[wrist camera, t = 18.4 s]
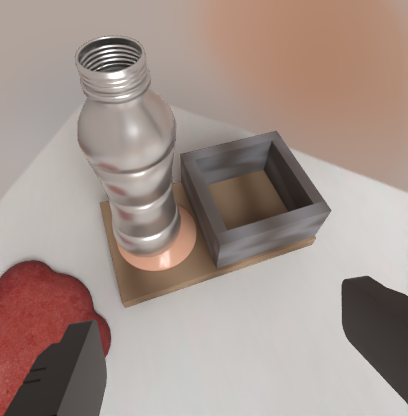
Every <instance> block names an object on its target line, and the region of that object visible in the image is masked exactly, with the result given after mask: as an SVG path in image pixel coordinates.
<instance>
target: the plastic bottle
mask: <svg viewBox="0 0 408 416" xmlns="http://www.w3.org/2000/svg"><path fill="white" fill-rule="evenodd" d="M75 61H76V66H77V69H78V72H79V75H80V83H81V86H82V89H83V92H84V94H85V95H86V96H87V97H88V98H87V100H86V101H85V103H84V105H83V108H82V110H81V113H80V116H79V119H78V142H79V145H80V148H81V149H82V151H83V154H84V156H85V157H86V158H87V160H88V162H89V163H90V165H91V166H92V168H93V170H94V171H95V173H96V174H97V176H98V177H99V179H100V181H101V183H102V185H103V187H104V190H105V192H106V194H107V196H108V198H109V202H110V207H111V212H112V226H113V233H114V236H115V239H116V240H117V242H118V243H119V244H120V246H121V247H122V248H123V249H124V250H125V251H126V252H128V253H129V254H131V255H134V256H137V257H143V258H145V257H153V256H157V255H159V254H162V253H164V252H165V251H167V250H168V249H169V248H170V247H171V246H172V245H173V244H174V243H175V241H176V239H177V237H178V234H179V231H180V227H181V216H180V212H179V208H178V206H177V203H176V201H175V198H174V193H173V188H172V162H173V155H174V148H175V141H176V121H175V118H174V116H173V113H172V111H171V108H170V107H169V105H168V103H167V102H165V100H164V99H163V98H162V97H161V96H160V95H159V94H158V93H157V92H156V91H155V90H154V89H152V88H151V87H150V83H151V77H150V72H149V69H148V67H147V63H146V55H145V51H144V48H143V46H142V45H141V44H140V43H139V42H138V41H136V40H135V39H132V38H129V37H125V36H104V37H100V38H96V39H93V40H90V41H88V42H86V43H85V44H83V45H82V46H81V47H80V48H79V49H78V50H77V52H76V54H75Z"/></svg>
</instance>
